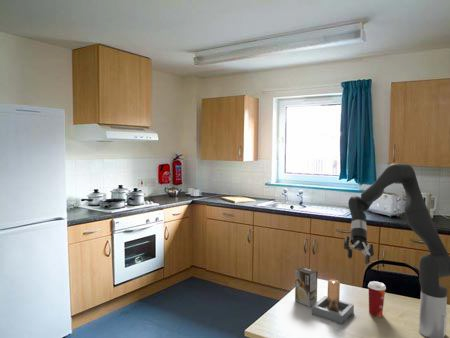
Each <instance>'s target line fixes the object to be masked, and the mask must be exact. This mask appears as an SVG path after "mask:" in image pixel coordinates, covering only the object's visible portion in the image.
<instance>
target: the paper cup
mask: <svg viewBox="0 0 450 338" xmlns="http://www.w3.org/2000/svg"><path fill="white" fill-rule="evenodd" d="M367 288H368V313H369V314H370V315H371V316H373V317H382V316H383V311H384V303H385V294H386V290H387V287H386V285H385V284H384V283H383V282H379V281H375V280H373V281H369V283H368V285H367Z"/></svg>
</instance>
